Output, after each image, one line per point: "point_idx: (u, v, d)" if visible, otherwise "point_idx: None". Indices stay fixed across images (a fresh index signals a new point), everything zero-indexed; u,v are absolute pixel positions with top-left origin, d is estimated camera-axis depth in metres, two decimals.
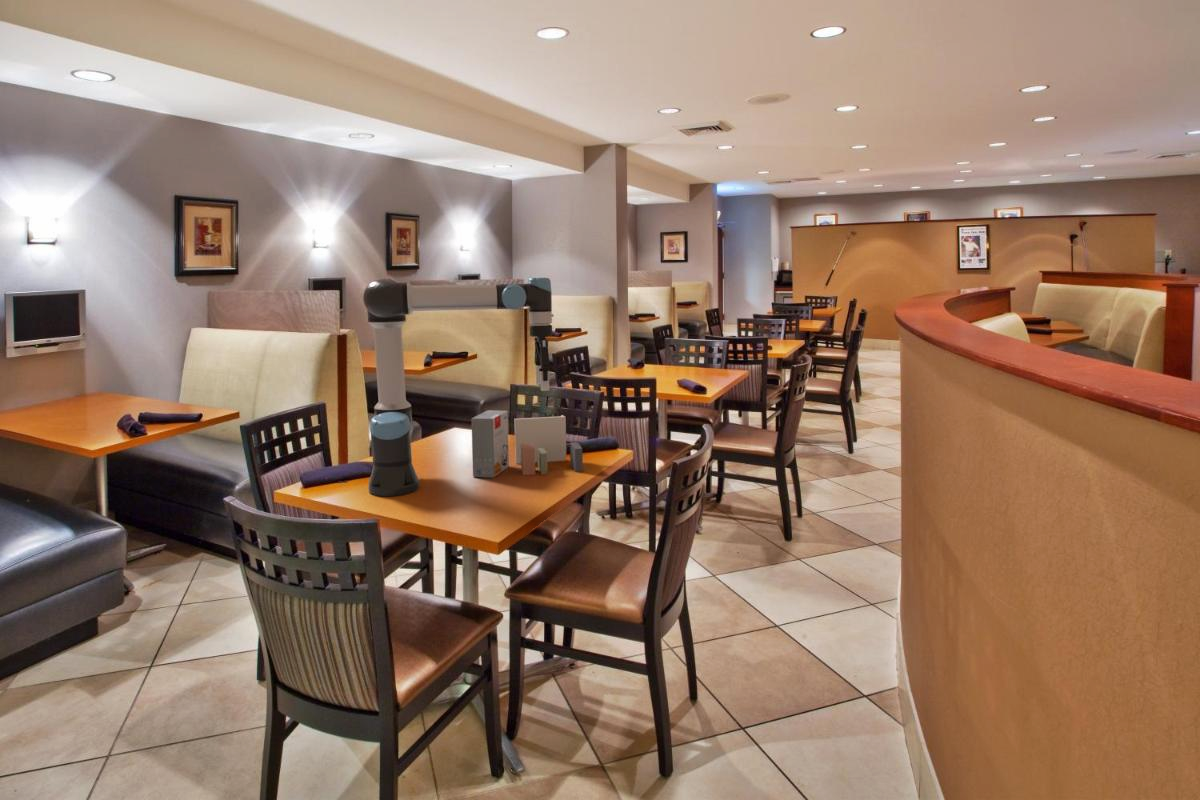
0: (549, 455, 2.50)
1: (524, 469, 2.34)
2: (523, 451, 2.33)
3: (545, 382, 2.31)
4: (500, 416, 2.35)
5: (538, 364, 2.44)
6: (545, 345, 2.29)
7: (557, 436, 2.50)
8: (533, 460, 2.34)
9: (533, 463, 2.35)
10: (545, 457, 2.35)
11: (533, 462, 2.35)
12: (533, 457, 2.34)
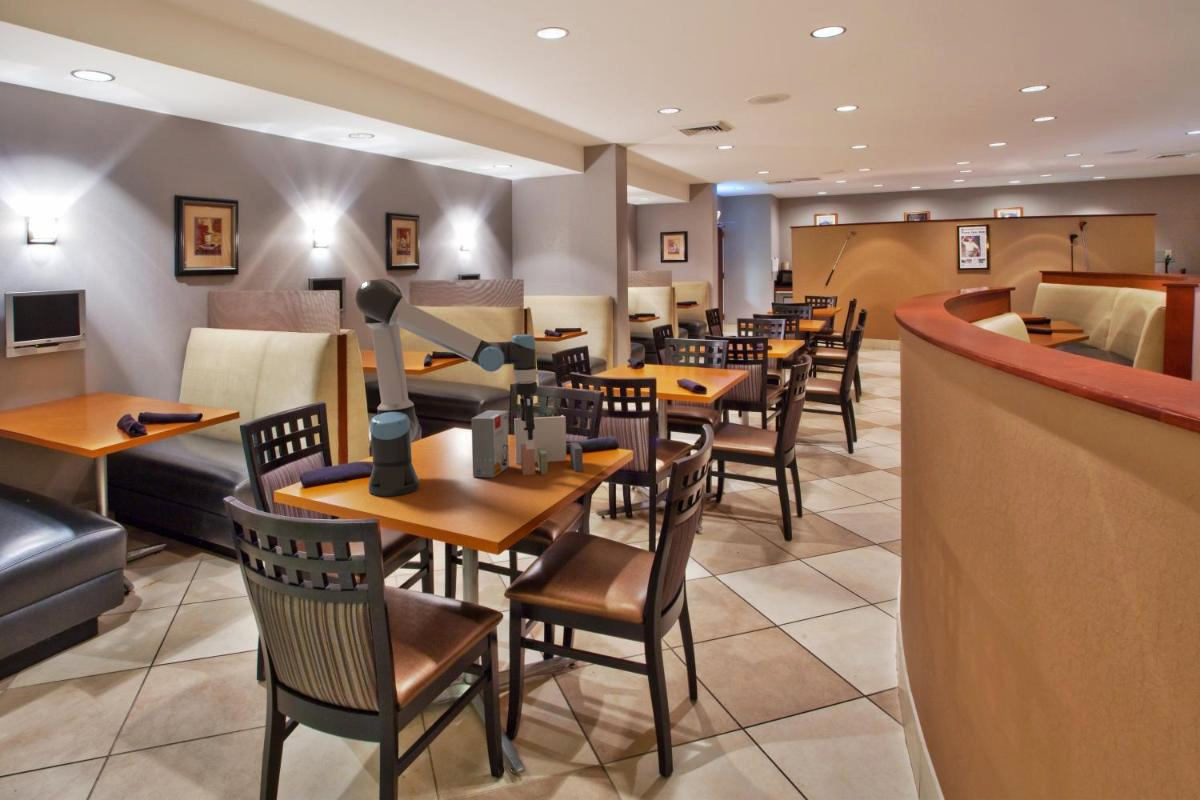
0: (549, 455, 2.50)
1: (524, 469, 2.34)
2: (523, 451, 2.33)
3: (530, 441, 2.29)
4: (500, 416, 2.35)
5: (524, 419, 2.42)
6: (530, 403, 2.27)
7: (557, 436, 2.50)
8: (533, 460, 2.34)
9: (533, 463, 2.35)
10: (545, 457, 2.35)
11: (533, 462, 2.35)
12: (533, 457, 2.34)
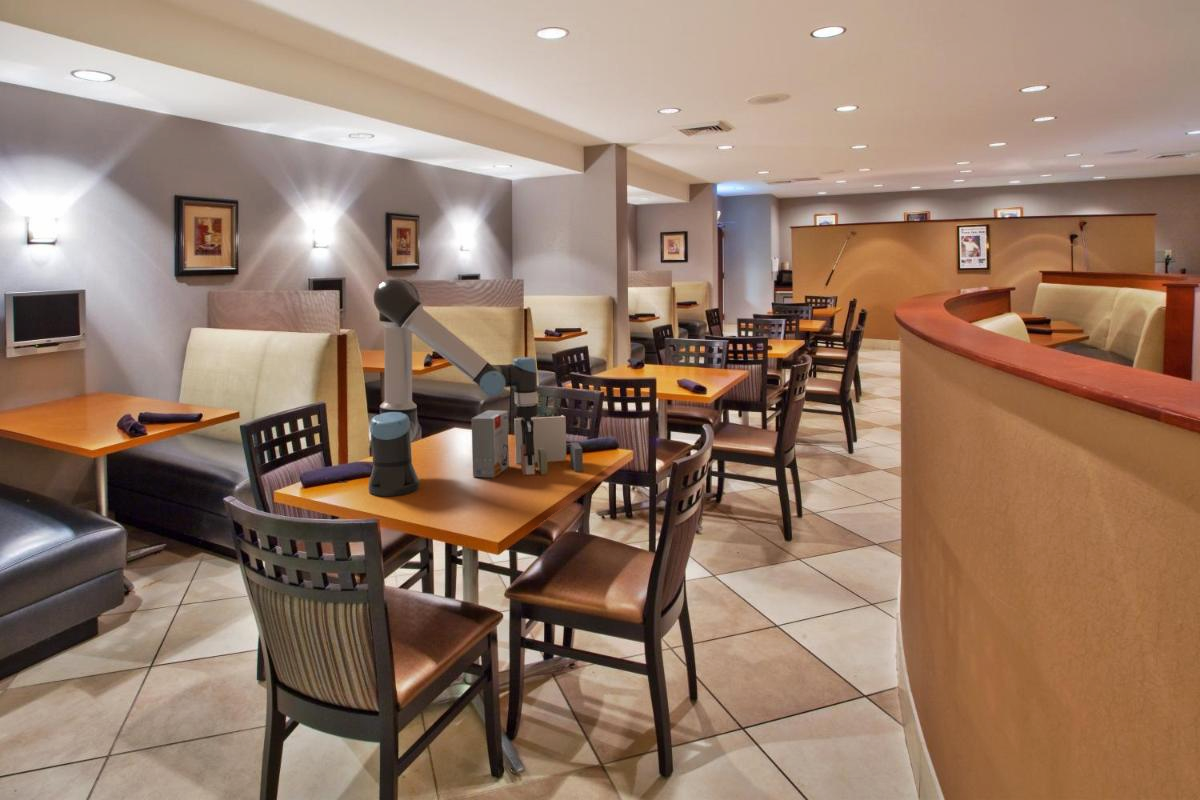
0: (549, 455, 2.50)
1: (524, 469, 2.34)
2: (523, 451, 2.33)
3: (530, 466, 2.34)
4: (500, 416, 2.35)
5: None
6: (530, 430, 2.29)
7: (557, 436, 2.50)
8: None
9: None
10: (545, 457, 2.35)
11: None
12: None
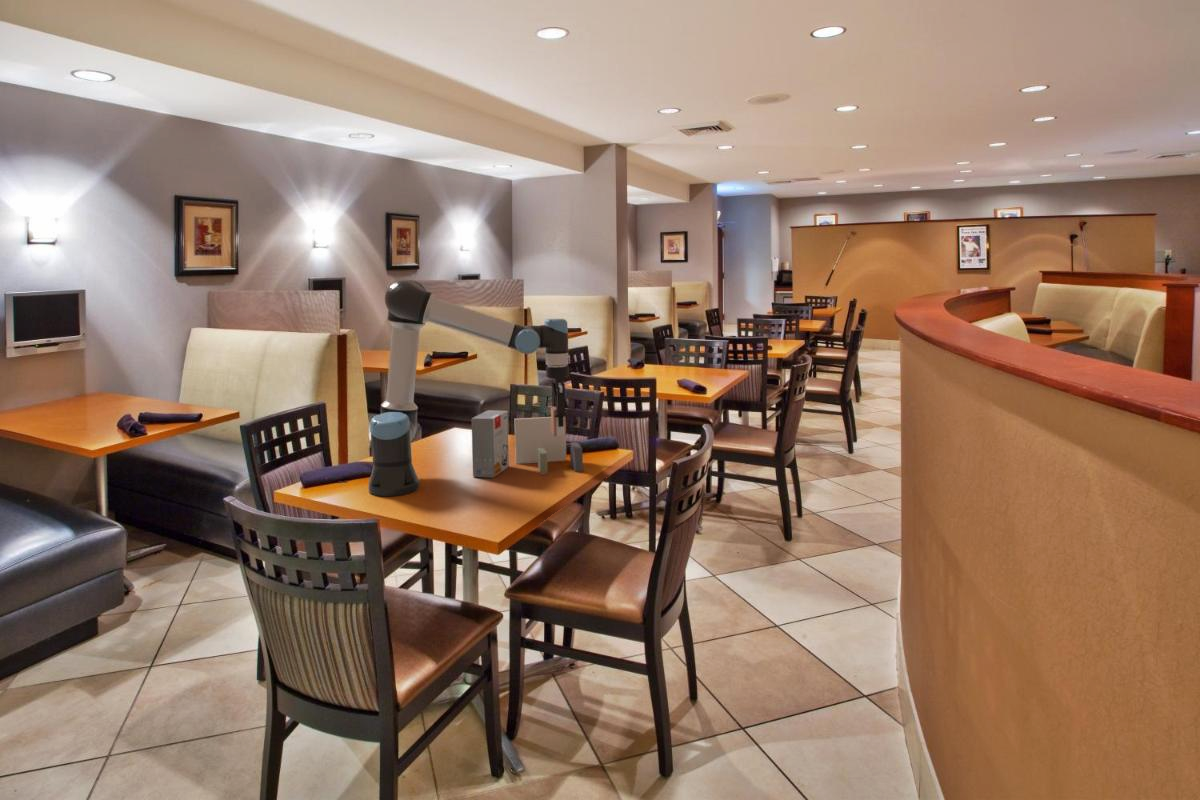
0: (549, 455, 2.50)
1: (555, 430, 2.34)
2: (554, 412, 2.33)
3: (560, 427, 2.34)
4: (500, 416, 2.35)
5: None
6: (562, 391, 2.29)
7: (557, 436, 2.50)
8: None
9: None
10: (545, 457, 2.35)
11: None
12: (564, 419, 2.34)
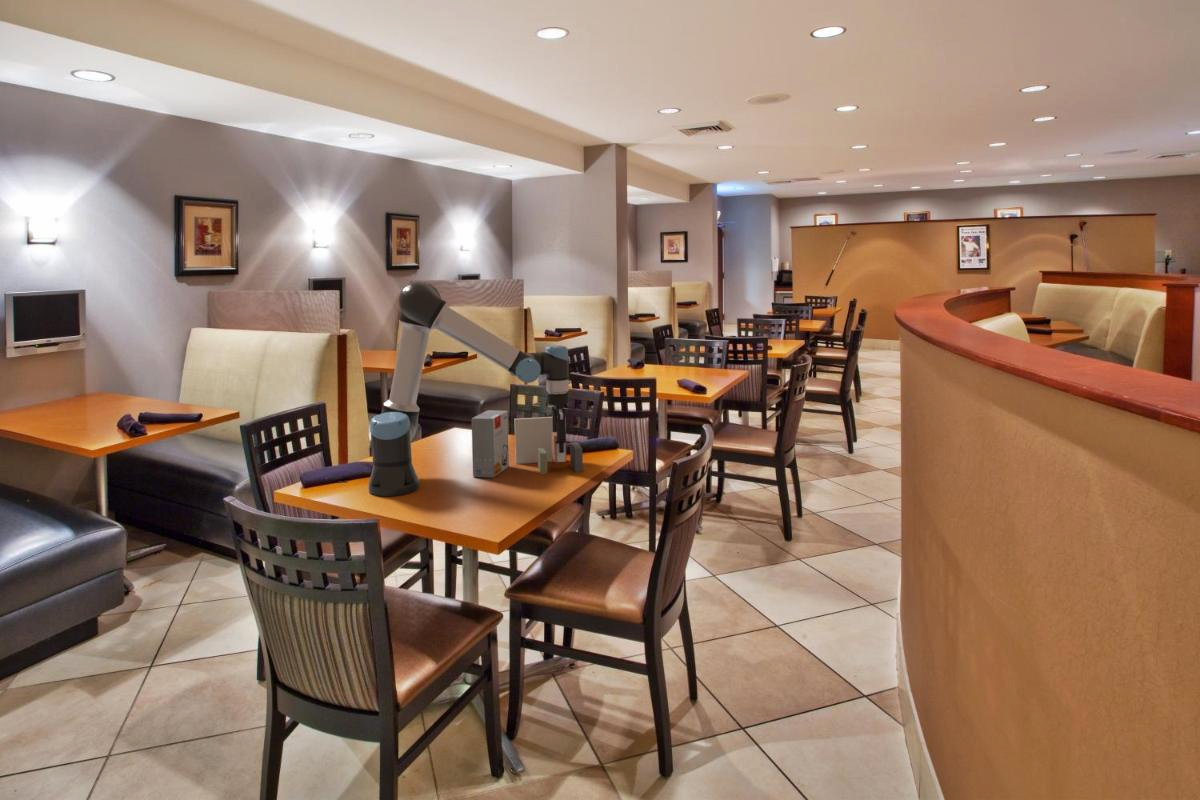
0: (549, 455, 2.50)
1: (555, 456, 2.36)
2: (555, 438, 2.35)
3: (561, 453, 2.35)
4: (500, 416, 2.35)
5: None
6: (562, 418, 2.31)
7: None
8: None
9: None
10: (545, 457, 2.35)
11: None
12: None
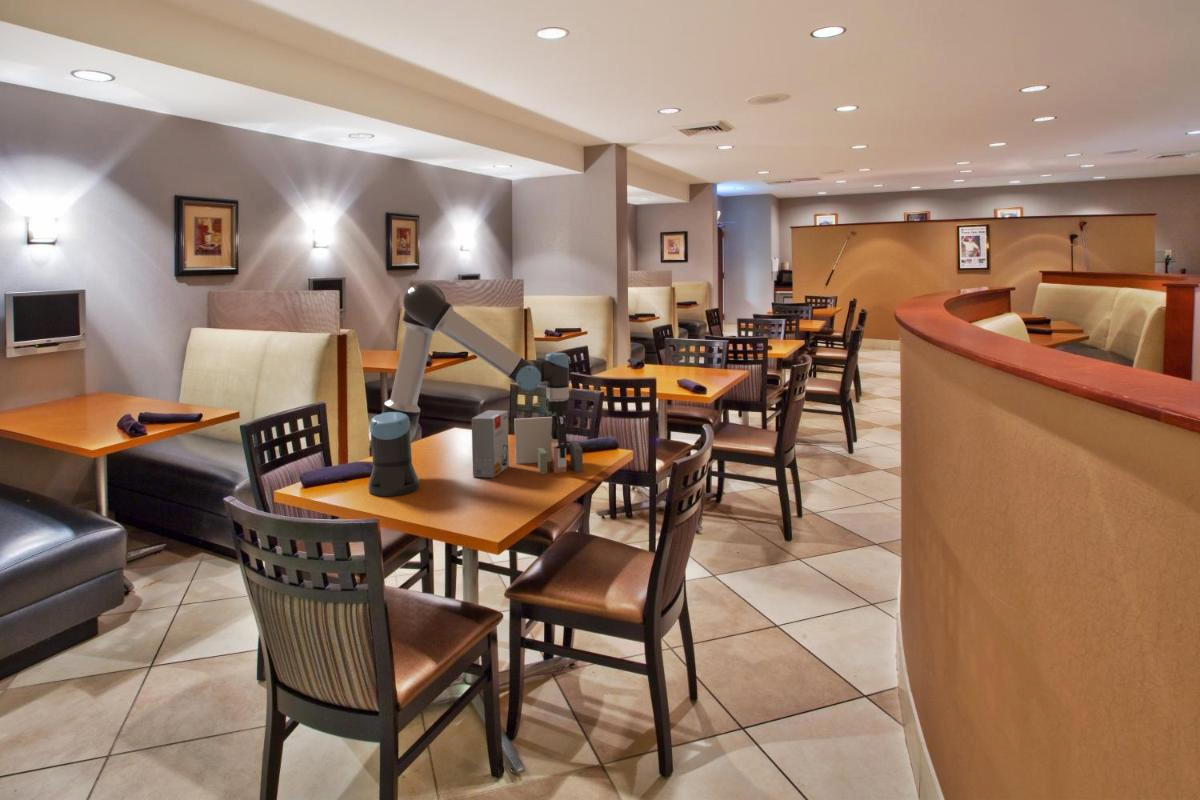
0: (549, 455, 2.50)
1: (555, 467, 2.36)
2: (554, 449, 2.35)
3: (562, 459, 2.33)
4: (500, 416, 2.35)
5: (555, 438, 2.44)
6: (563, 422, 2.30)
7: None
8: None
9: None
10: (545, 457, 2.35)
11: None
12: None
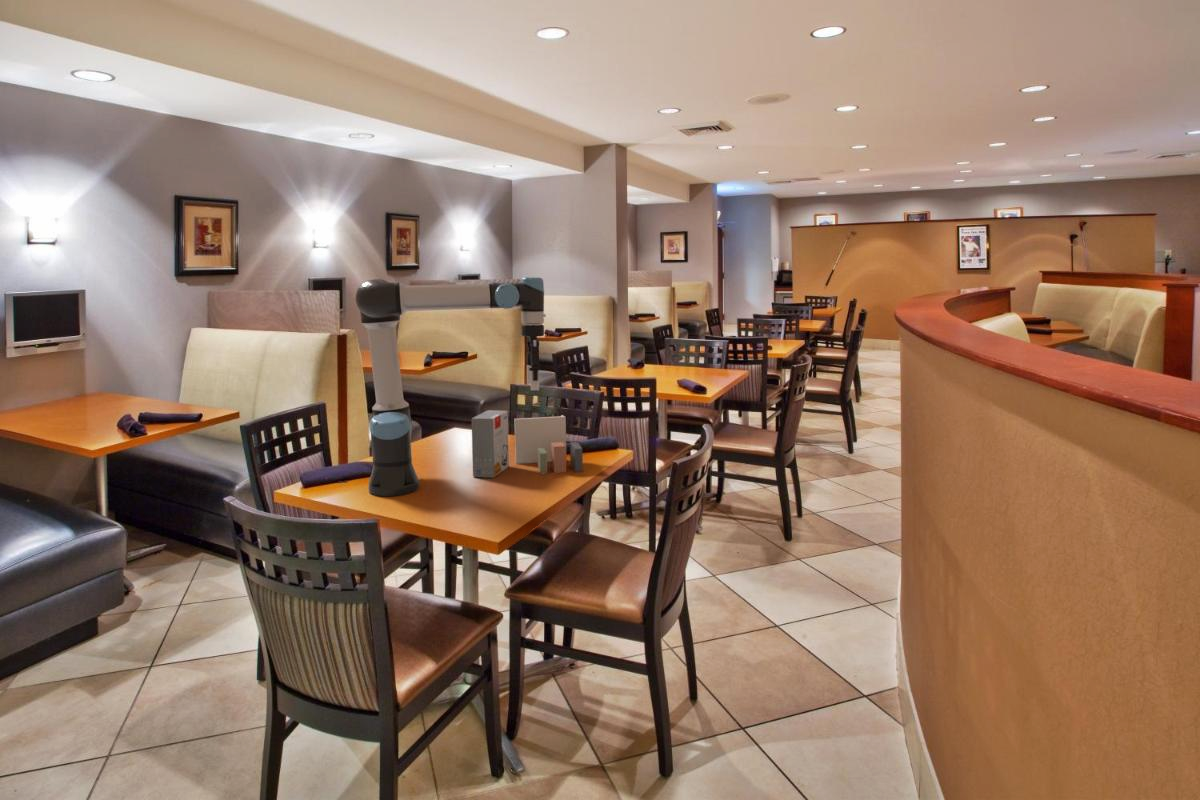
0: (549, 455, 2.50)
1: (555, 467, 2.36)
2: (554, 449, 2.35)
3: (535, 382, 2.31)
4: (500, 416, 2.35)
5: (530, 364, 2.44)
6: (536, 344, 2.29)
7: (557, 436, 2.50)
8: (564, 458, 2.37)
9: (564, 461, 2.37)
10: (545, 457, 2.35)
11: (564, 460, 2.37)
12: (564, 455, 2.36)
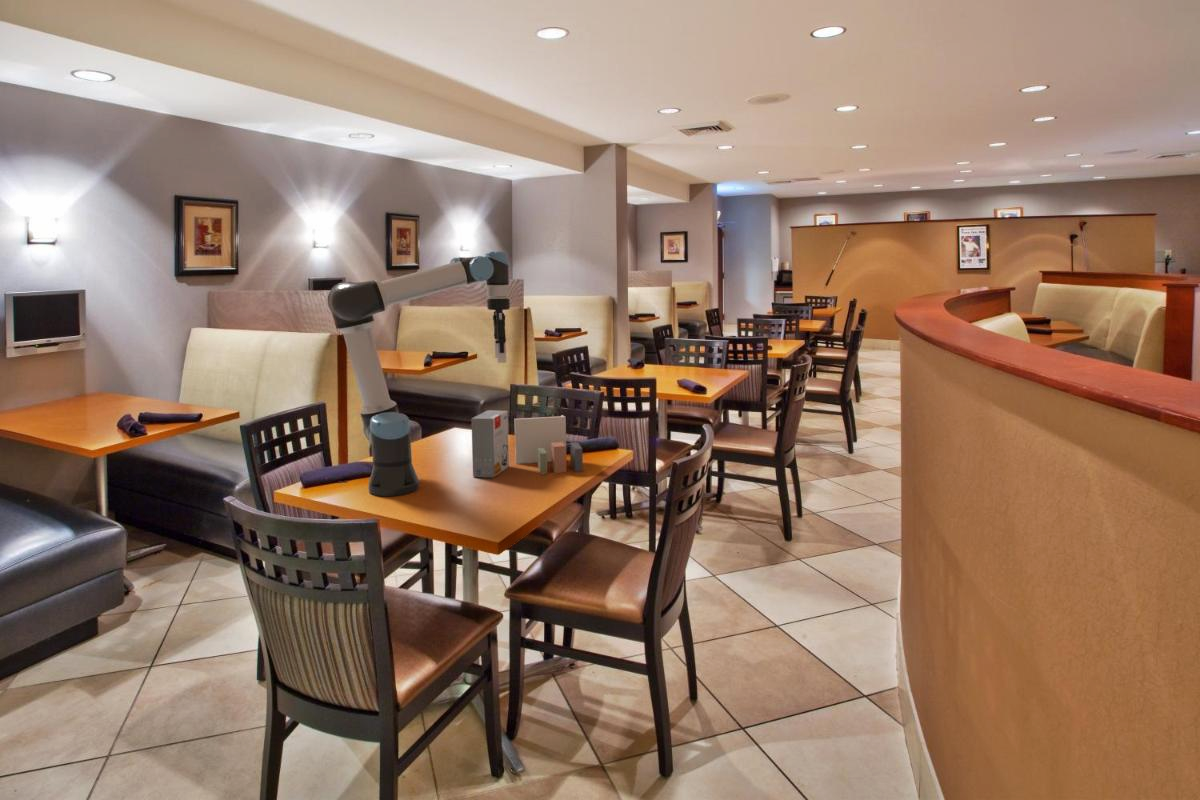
0: (549, 455, 2.50)
1: (555, 467, 2.36)
2: (554, 449, 2.35)
3: (502, 354, 2.35)
4: (500, 416, 2.35)
5: (497, 338, 2.48)
6: (501, 317, 2.33)
7: (557, 436, 2.50)
8: (564, 458, 2.37)
9: (564, 461, 2.37)
10: (545, 457, 2.35)
11: (564, 460, 2.37)
12: (564, 455, 2.36)
